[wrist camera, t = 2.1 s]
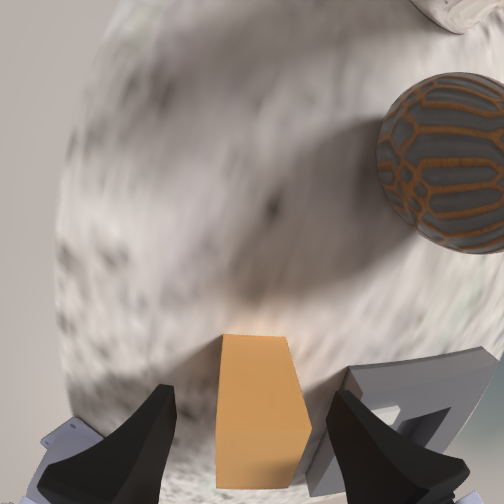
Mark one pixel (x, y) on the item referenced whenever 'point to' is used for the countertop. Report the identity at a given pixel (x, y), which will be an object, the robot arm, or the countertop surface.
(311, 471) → the socket
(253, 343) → the plug
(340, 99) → the countertop surface
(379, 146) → the vase
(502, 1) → the metal tumbler
